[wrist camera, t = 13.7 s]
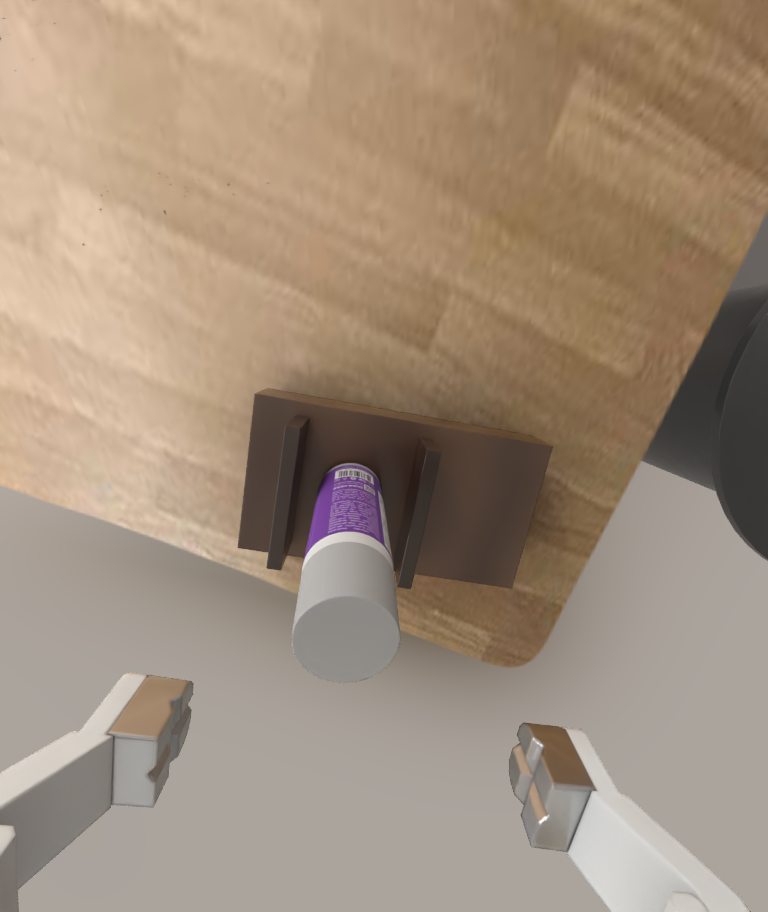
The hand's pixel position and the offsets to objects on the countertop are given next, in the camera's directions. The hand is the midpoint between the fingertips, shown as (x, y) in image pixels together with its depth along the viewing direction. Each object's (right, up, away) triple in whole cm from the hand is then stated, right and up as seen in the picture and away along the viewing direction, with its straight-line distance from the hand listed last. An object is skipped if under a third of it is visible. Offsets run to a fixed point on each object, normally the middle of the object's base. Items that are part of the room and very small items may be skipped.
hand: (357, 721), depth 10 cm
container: (-2, +4, +21) cm, 22 cm away
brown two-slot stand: (+1, +4, +25) cm, 26 cm away
